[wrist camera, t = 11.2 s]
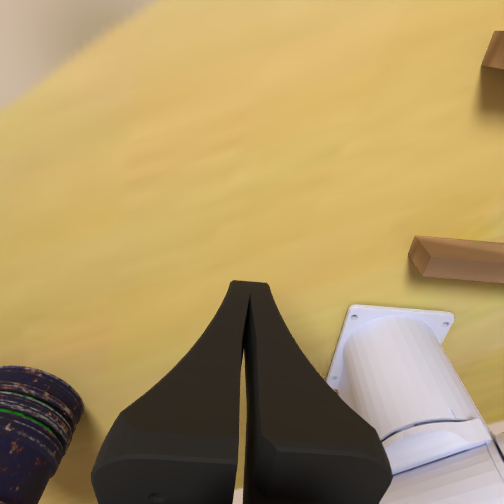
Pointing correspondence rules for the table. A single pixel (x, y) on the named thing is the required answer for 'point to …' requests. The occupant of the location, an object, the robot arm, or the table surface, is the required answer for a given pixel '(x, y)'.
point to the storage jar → (33, 430)
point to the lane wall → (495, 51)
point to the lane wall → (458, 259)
